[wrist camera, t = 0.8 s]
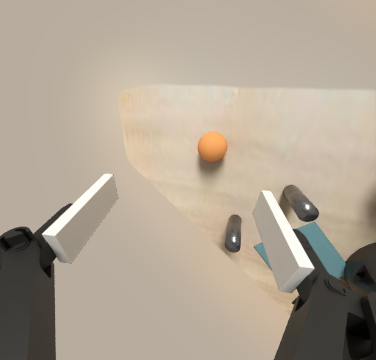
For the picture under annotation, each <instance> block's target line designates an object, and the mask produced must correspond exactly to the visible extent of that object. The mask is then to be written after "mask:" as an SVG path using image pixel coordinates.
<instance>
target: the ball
mask: <svg viewBox="0 0 376 360" xmlns="http://www.w3.org/2000/svg"><path fill="white" fill-rule="evenodd" d="M226 151H227V142H226V140H225V138H224V137H223V136H222V135H221V134H219V133H217V132H209V133H206V134H205V135H203V136H202V137H201V139H200V140H199V143H198V152H199V154H200V156H201V157H202V158H203V159H205V160H207V161H211V162H213V161H218V160H219V159H221V158H222V157H223V156H224V155H225V153H226Z"/></svg>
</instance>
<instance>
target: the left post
mask: <svg viewBox="0 0 376 360" xmlns="http://www.w3.org/2000/svg"><path fill="white" fill-rule="evenodd" d="M240 246H241V218H240V217H239V216H238V215H232V216H230V218H229V224H228V230H227V236H226V242H225V247H226V249H227V250H228V251H230V252H238V251H239V250H240Z"/></svg>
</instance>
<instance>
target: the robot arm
mask: <svg viewBox="0 0 376 360" xmlns="http://www.w3.org/2000/svg"><path fill="white" fill-rule="evenodd" d="M117 200H118V194H117V189H116V185H115V180H114V175H113V174H104V175H103V176H102V177H101V178H100V179H99V180H98V181H97V182H96V183H95V184H94V185H93V186H92V187H91V188H89V190H88V191H86V192H85V193H84V194H83V195H82V196H81V197H80V198H79V199H78V200H77V201H76V202H75V203H74V204H68V205H66V206H65V207H63V208H62V209H60V210H59V211H58V212H57V213H56V214H55V215H54V216H53V217H52V218H51V219H49V220H48V221H47V222H46V223H45V224H44V225H43V226H42V227H41V228H39V229H38V230H37V231H36V232H35V233H34V234H33V233H32V232H31V230H30V229H29V228H27V227H17V228H14V229H11V230H9V231H7V232H6V233H4V234H3V235H1V236H0V360H56V352H55V351H56V350H55V289H54V264H53V261H54V259H55V258H56V257H57V258H58V260H59V261H60V262H63V263H72V262H73V261H74V260H75V258H76V257H77V255H78V254H79V253H80V251H81V250H82V248H83V247H84V246H85V244H86V243H87V241H88V240H89V239H90V237H91V236H92V235H93V233H94V232H95V230H96V229H97V228H98V226H99V225H100V223H101V222H102V221H103V219H104V218H105V216H106V215H107V214H108V212H109V211H110V209H111V208H112V207H113V205H114V204H115V202H116V201H117ZM253 216H254V219H255V222H256V225H257V228H258V231H259V234H260V237H261V240H262V242H263V245H264V248H265V251H266V254H267V257H268V260H269V263H270V266H271V269H272V272H273V275H274V277H275V280H276V283H277V286H278V289H279V291H282V292H289V293H292V292H293V291H294V290H295V289H296V288H297V290H298V293H299V296H298V297H297V298H296V299H295V300H294V301H293V302H292V304H295V305H294V307H293V310H292V313H291V315H290V318H289V321H288V324H287V326H286V329H285V332H284V334H283V337H282V340H281V342H280V345H279V348H278V350H277V353H276V356H275V358H274V360H376V243H374V244H371V245H368V246H366V247H363V248H362V249H360V250H358V251H357V252H355V253H354V254H353V255H352V256H351V257H350V258H349V259H348V261H347V263H346V265H345V268H344V277H345V280H346V282H347V284H348V286H349V287H350V289H351V290H350V289H348V288H346V286H345V285H344V284H343V283H342V282H341V281H340V280H339V279H337V278H336V277H334V276H332V275H330V274H329V273H328V272H327V270H326V268H325V267H324V265H323V264H322V262H321V260H320V259H319V257H318V256H317V254H316V252H315V251H314V250H313V248H312V246H311V244H309V241H308V240H307V238H306V236H305V235H304V234H303V233H302V232H300V231H299V230H298V229H292V228H291V226H290V224H289V223H288V221H287V219H286V217H285V216H284V214H283V212H282V210H281V209H280V207H279V205H278V203H277V202H276V200H275V198H274V196H273V194H272V193H271V191H264V190H262V191H261V193H260V196H259V198H258V201H257V203H256V206H255V208H254V211H253Z"/></svg>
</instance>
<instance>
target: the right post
mask: <svg viewBox="0 0 376 360" xmlns="http://www.w3.org/2000/svg"><path fill="white" fill-rule="evenodd" d="M283 193H284V195H285V197H286V198H287V200H288V202H289V203H290V205H291V207H292V208H293V210H294V211H295V213H296V215H297V216H298V218H299V219H300V220H302V221H305V222H310V221H314V220H315V219H317V217H318V215H319V211H318V209H317V208H316V207H315V206H314V205H313V204H312V203H311V202H310V201H309V200H308V198H307V197H306V196H305V195H304V194H303V193H302V192H301V191H300V190H299V189H298V188H297V187H296V186H294V185H289V186H286V187H285V188H284V190H283Z"/></svg>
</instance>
